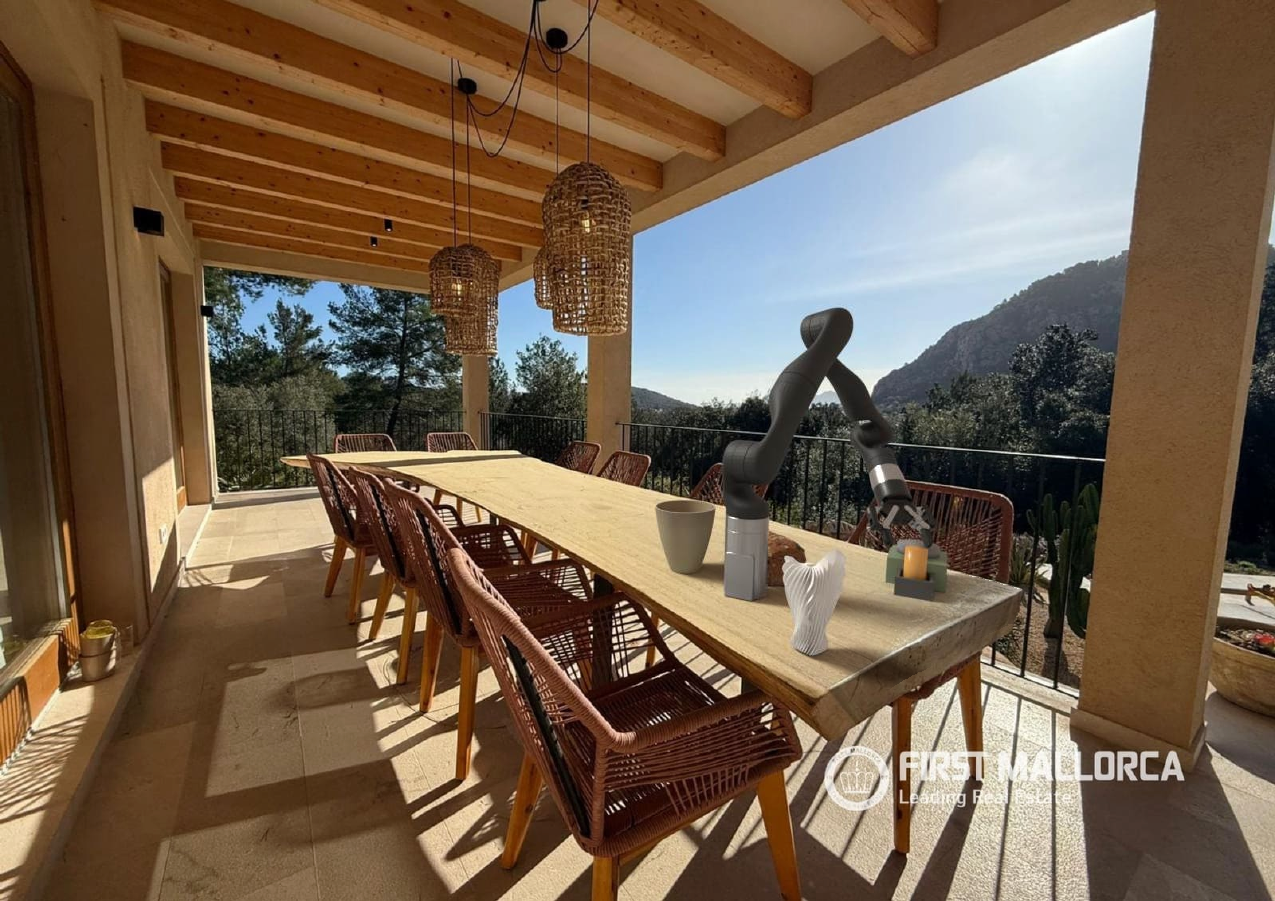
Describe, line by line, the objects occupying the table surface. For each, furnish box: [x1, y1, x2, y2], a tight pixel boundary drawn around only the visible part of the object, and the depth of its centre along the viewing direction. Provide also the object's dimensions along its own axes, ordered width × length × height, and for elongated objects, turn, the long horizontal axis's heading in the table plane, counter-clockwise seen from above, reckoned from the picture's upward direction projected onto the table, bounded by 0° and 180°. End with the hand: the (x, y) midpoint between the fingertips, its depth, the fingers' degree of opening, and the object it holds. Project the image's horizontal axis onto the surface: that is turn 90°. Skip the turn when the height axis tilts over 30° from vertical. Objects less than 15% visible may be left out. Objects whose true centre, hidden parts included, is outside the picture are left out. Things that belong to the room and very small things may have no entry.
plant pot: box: [654, 499, 717, 574], centre depth 129 cm, size 15×15×16 cm
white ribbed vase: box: [782, 548, 847, 656], centre depth 88 cm, size 8×8×18 cm
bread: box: [767, 530, 807, 587], centre depth 127 cm, size 19×11×10 cm, turn 15°
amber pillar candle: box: [903, 545, 928, 581], centre depth 115 cm, size 4×4×10 cm
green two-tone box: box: [885, 539, 948, 602], centre depth 120 cm, size 19×12×8 cm, turn 150°
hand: (910, 546), depth 117 cm, fingers open, 8 cm apart
